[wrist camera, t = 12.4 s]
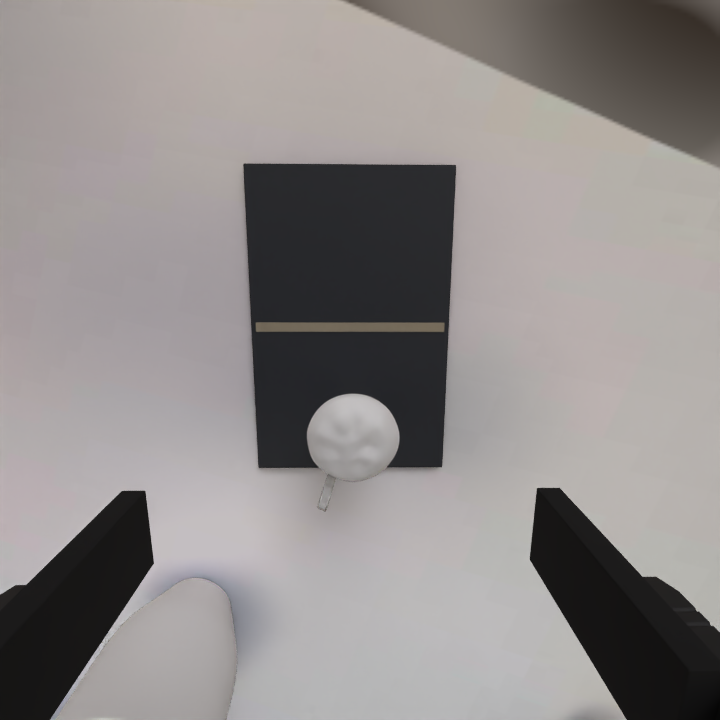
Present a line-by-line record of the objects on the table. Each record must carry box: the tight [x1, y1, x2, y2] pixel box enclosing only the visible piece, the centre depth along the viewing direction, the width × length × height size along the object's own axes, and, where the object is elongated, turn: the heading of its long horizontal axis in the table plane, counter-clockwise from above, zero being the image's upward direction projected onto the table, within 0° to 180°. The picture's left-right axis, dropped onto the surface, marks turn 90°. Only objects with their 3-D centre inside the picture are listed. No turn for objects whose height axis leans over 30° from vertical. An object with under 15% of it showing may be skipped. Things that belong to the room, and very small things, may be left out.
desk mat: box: [244, 164, 456, 468], centre depth 28 cm, size 20×13×1 cm, turn 0°
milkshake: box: [307, 370, 400, 511], centre depth 24 cm, size 5×5×10 cm
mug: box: [55, 578, 237, 720], centre depth 27 cm, size 12×9×12 cm
